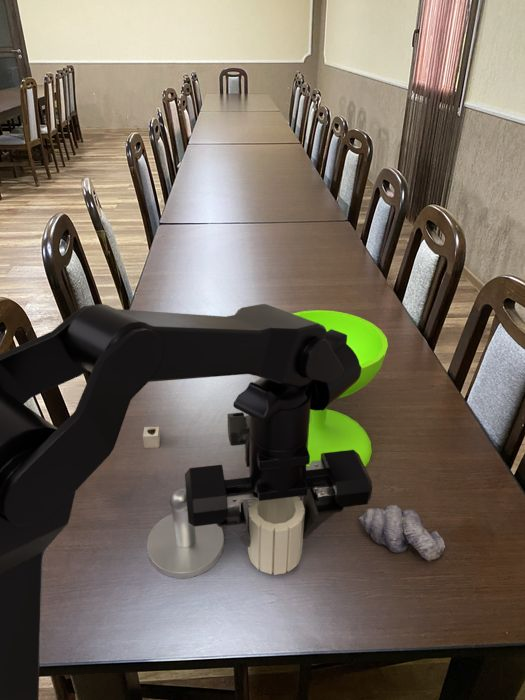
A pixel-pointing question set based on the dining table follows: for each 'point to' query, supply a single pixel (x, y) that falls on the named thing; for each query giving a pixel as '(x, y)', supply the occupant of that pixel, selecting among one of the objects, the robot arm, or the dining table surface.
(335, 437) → the wineglass
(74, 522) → the dining table surface
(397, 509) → the seashell
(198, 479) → the robot arm
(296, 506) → the beige fluted tube
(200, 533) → the stand
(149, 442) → the cream cube
